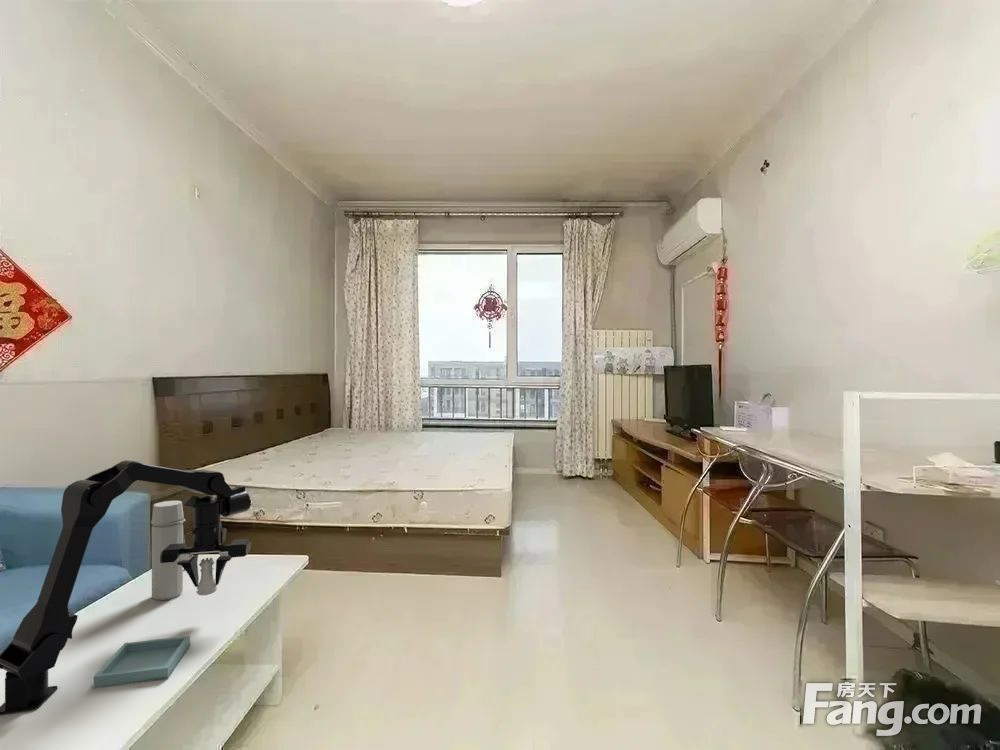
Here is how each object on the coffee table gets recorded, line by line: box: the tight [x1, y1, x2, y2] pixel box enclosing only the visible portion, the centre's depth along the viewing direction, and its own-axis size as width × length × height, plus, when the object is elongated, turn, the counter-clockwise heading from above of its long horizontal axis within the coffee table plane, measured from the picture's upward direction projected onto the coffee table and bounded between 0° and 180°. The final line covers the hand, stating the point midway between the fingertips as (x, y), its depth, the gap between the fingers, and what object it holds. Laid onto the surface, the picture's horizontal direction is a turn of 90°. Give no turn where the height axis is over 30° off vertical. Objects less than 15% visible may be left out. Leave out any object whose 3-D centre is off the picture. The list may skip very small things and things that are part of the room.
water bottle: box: [150, 500, 186, 601], centre depth 139 cm, size 9×8×25 cm
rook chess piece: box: [196, 557, 218, 596], centre depth 125 cm, size 4×4×8 cm
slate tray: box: [93, 635, 191, 689], centre depth 105 cm, size 13×13×2 cm
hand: (207, 585), depth 125 cm, fingers closed on rook chess piece, 4 cm apart
